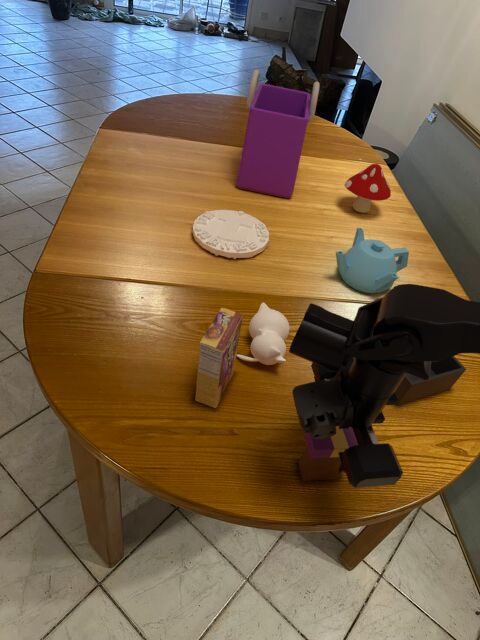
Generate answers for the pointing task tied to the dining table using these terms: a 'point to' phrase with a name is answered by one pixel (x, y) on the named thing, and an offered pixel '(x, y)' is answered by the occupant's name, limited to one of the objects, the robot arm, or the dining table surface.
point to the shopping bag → (274, 137)
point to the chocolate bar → (330, 443)
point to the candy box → (217, 357)
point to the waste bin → (430, 381)
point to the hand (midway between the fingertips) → (333, 444)
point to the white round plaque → (230, 233)
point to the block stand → (318, 467)
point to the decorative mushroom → (368, 187)
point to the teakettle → (370, 264)
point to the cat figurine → (268, 336)
